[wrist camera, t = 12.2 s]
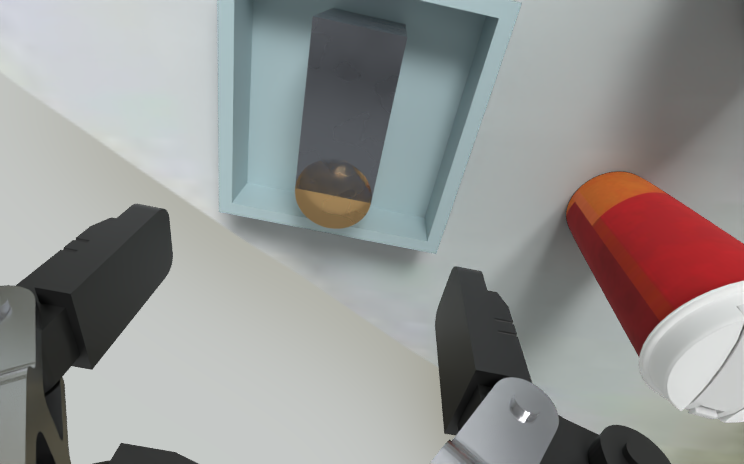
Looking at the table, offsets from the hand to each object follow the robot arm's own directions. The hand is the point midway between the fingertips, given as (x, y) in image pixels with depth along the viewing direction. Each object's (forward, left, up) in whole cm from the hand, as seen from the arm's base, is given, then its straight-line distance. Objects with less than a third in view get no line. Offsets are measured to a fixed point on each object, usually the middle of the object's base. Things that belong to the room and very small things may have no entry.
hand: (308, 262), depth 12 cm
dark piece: (-1, 0, -16) cm, 16 cm away
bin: (0, 0, -17) cm, 17 cm away
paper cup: (+3, +18, -17) cm, 25 cm away
